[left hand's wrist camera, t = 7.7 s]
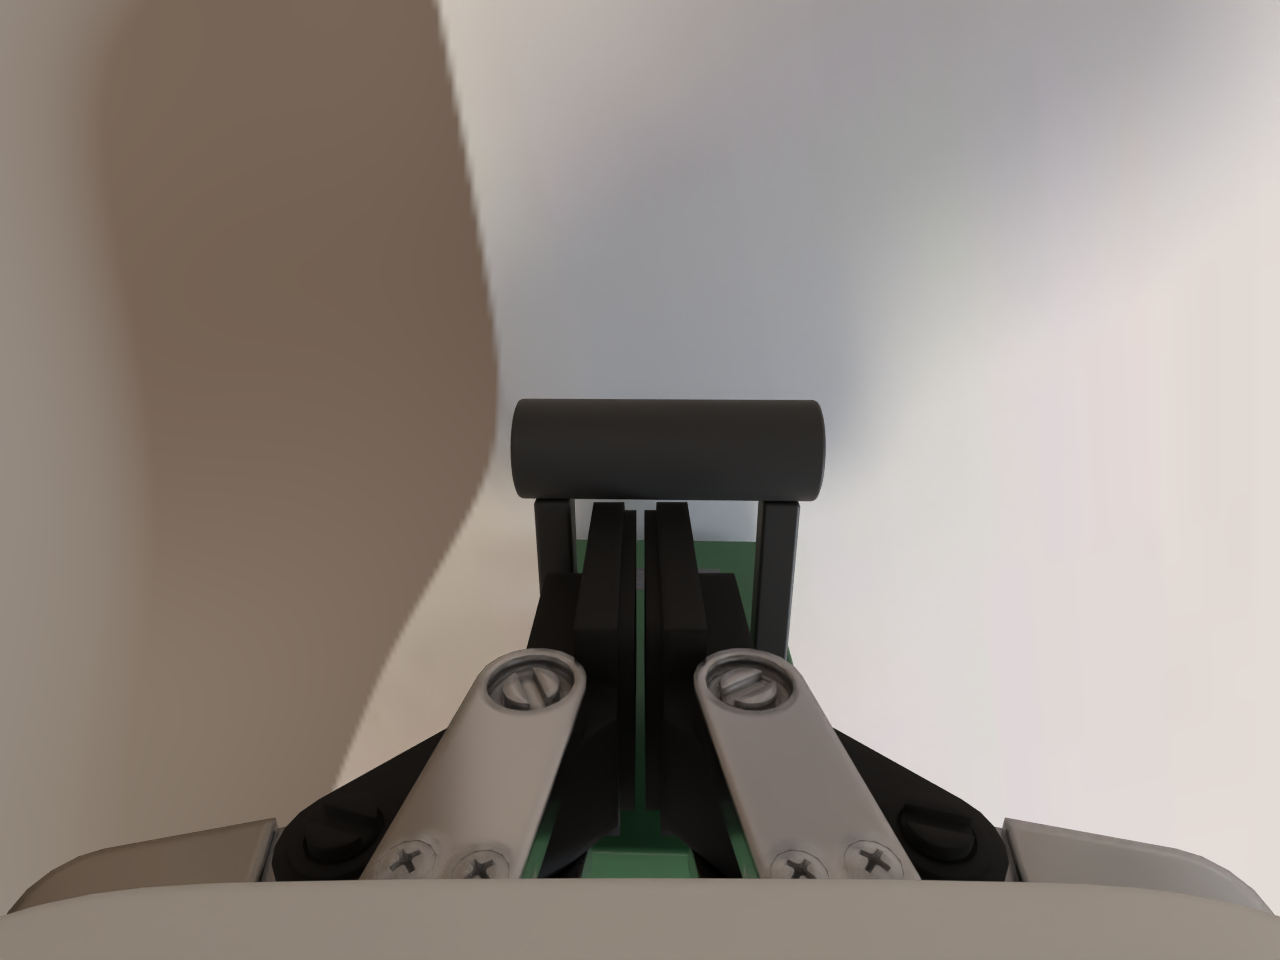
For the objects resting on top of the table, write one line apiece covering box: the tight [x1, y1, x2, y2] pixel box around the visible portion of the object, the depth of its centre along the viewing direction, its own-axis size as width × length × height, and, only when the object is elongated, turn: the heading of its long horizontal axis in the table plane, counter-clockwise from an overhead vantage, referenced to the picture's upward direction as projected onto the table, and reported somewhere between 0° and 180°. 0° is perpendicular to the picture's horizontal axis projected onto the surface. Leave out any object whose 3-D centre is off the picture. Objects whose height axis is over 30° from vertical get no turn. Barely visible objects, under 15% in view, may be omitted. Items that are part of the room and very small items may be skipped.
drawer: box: [511, 399, 826, 878], centre depth 16 cm, size 22×5×10 cm, turn 0°
